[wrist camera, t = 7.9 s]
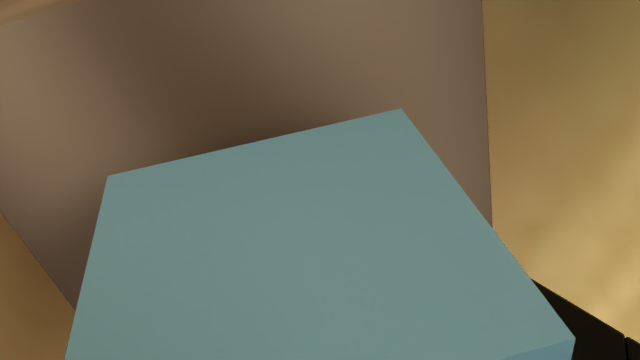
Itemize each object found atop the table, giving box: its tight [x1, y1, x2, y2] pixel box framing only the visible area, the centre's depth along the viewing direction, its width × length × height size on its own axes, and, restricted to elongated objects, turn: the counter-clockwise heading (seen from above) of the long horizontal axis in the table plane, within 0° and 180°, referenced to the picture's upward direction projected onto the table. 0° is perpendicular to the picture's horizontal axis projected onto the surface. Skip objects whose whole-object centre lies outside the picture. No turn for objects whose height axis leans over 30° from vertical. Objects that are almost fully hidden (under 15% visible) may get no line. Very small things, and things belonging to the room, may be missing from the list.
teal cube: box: [64, 108, 576, 360], centre depth 8 cm, size 5×5×5 cm
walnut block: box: [0, 0, 493, 311], centre depth 13 cm, size 10×10×4 cm
